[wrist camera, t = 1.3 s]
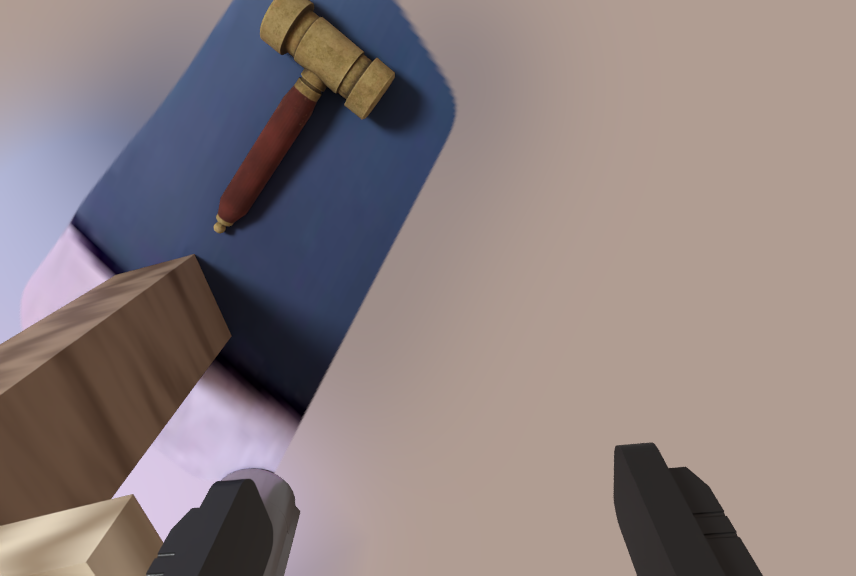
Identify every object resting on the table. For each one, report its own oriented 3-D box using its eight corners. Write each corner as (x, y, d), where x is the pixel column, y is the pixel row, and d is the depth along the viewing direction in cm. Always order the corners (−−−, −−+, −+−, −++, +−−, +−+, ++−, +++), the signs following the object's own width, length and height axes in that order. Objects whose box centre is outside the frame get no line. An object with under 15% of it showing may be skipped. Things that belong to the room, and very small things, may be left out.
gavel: (256, 272, 44) (154, 204, 42) (271, 254, 48) (179, 192, 46) (394, 74, 38) (283, -20, 35) (398, 74, 42) (298, -11, 39)
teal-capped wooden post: (194, 254, 46) (-129, 488, 18) (231, 336, 49) (5, 641, 22) (115, 275, 47) (-318, 535, 19) (157, 354, 50) (-159, 678, 22)
